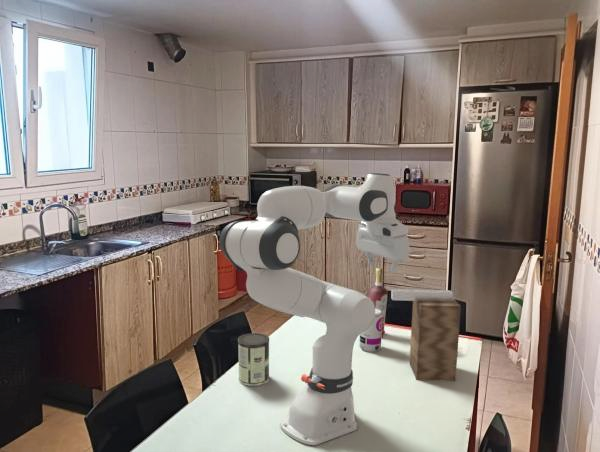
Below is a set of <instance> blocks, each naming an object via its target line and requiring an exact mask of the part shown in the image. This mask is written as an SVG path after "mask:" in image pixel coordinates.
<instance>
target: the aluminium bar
mask: <svg viewBox="0 0 600 452" xmlns="http://www.w3.org/2000/svg"><path fill="white" fill-rule="evenodd" d="M390 295H391V296H390V298H391V300H392V301H408V302H409V301H410V302H413V301H445V302H452V300H453V298H454V297H453V296H454V292H453V291H452V290H450V289H449V290H448V289H447V290H446V289H441V290H440V289H411V288H410V289H408V288H407V289H405V288H404V289H400V288H391V292H390Z"/></svg>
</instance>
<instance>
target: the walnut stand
mask: <svg viewBox="0 0 600 452" xmlns="http://www.w3.org/2000/svg"><path fill="white" fill-rule="evenodd" d="M461 308H462V307H461V304H459V302H458V301H457V300H456V299H455V298H454V297H453V300H452V302H445V301H412V310H411V311H412V313H411V315H412V316H411V317H412V318H411V328H410V329H411V330H410V332H411V333H410V346H409V347H410V351H409V366H410V368H411V370H412V374H413V376H414V377H415V380H418V381H445V382H446V381H448V382H449V381H450V382H452V381H453V382H456V381H457V380H456V377H457V363H458V349H459V337H460V336H459V335H460V323H461Z"/></svg>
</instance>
